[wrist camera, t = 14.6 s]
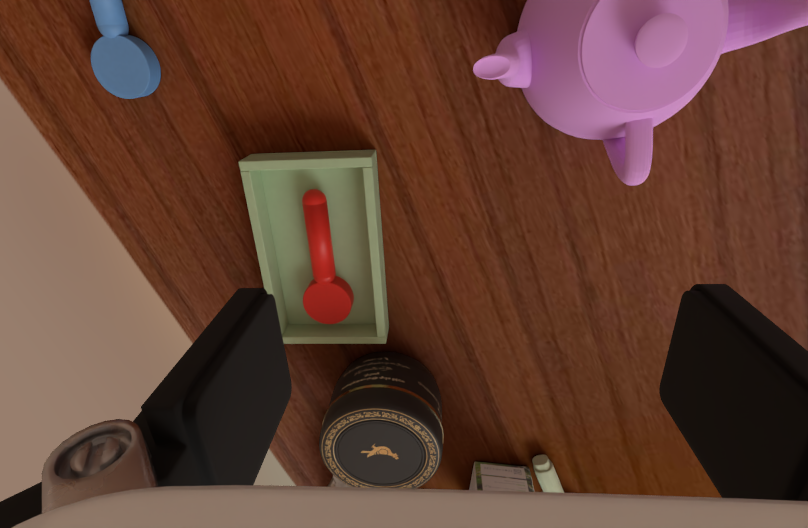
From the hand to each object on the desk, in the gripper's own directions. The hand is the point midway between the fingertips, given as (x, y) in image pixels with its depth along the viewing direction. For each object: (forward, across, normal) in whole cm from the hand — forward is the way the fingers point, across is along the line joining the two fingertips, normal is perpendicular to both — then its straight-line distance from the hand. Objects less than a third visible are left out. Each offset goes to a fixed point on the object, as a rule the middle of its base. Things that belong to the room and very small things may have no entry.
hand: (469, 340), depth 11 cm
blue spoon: (+24, +22, -10) cm, 34 cm away
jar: (+24, +6, +22) cm, 33 cm away
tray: (+24, +10, +8) cm, 27 cm away
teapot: (+24, -10, -6) cm, 27 cm away
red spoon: (+24, +10, +8) cm, 27 cm away
